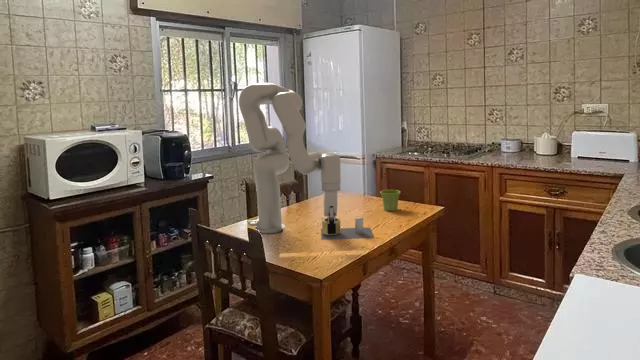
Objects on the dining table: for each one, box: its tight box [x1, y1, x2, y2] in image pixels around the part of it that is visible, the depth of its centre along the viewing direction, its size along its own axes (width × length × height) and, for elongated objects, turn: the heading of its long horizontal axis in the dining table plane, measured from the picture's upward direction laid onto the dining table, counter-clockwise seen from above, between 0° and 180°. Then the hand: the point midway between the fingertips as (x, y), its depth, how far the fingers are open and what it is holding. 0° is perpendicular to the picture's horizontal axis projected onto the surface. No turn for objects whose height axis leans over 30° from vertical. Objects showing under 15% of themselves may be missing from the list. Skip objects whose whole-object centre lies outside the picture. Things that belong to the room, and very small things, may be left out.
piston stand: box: [320, 216, 375, 241], centre depth 198 cm, size 20×14×7 cm
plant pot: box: [379, 189, 401, 212], centre depth 237 cm, size 9×9×9 cm
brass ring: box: [321, 217, 341, 235], centre depth 198 cm, size 7×7×5 cm
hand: (331, 230), depth 199 cm, fingers closed on brass ring, 7 cm apart
